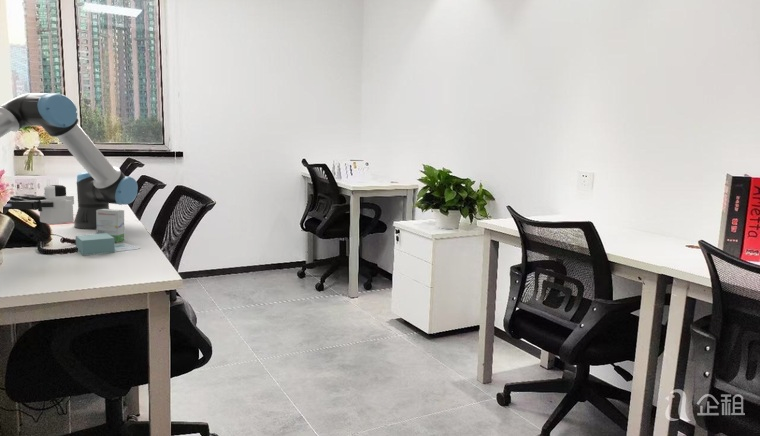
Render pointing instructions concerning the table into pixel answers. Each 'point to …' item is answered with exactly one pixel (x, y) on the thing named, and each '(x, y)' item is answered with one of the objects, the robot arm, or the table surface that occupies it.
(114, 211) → the ink box
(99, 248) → the base brick
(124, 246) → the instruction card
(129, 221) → the table surface
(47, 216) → the grey stepped block
